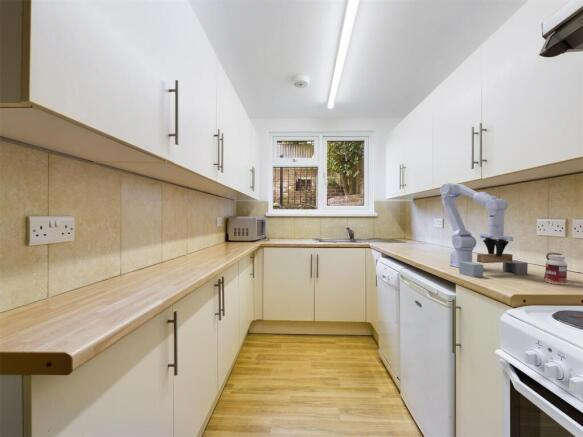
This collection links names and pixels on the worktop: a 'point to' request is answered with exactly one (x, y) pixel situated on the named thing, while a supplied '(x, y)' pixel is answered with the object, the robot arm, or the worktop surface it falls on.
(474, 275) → the blue-grey block
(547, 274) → the pill bottle
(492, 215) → the robot arm
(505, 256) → the slat
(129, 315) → the worktop surface
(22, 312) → the worktop surface
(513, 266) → the end cap fixed
